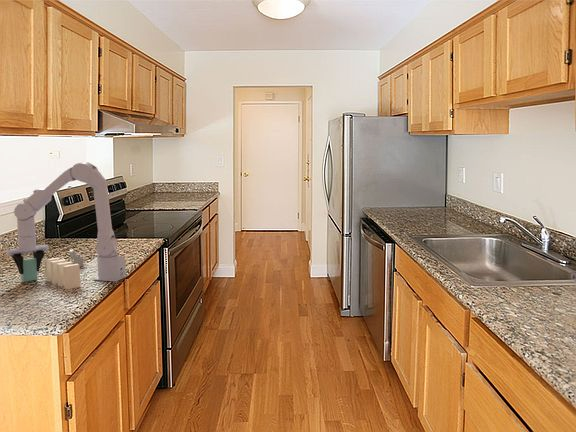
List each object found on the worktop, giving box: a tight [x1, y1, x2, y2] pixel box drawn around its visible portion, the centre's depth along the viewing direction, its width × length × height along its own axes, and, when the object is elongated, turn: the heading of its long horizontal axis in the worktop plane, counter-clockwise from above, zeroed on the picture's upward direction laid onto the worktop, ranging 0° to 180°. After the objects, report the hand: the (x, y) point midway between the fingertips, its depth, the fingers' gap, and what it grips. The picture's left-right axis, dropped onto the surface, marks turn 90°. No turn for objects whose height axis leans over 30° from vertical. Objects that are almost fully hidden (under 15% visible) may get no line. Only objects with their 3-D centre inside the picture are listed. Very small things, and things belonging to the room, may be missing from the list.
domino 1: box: [44, 257, 61, 283], centre depth 197 cm, size 2×5×8 cm, turn 138°
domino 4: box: [63, 263, 82, 290], centre depth 187 cm, size 2×5×8 cm, turn 138°
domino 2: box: [51, 259, 67, 285], centre depth 194 cm, size 2×5×8 cm, turn 138°
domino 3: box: [57, 261, 74, 287], centre depth 191 cm, size 2×5×8 cm, turn 138°
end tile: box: [20, 257, 38, 283], centre depth 196 cm, size 2×5×8 cm, turn 138°
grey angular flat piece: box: [68, 249, 84, 268], centre depth 217 cm, size 7×2×8 cm, turn 169°
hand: (29, 272), depth 196 cm, fingers closed on end tile, 5 cm apart
